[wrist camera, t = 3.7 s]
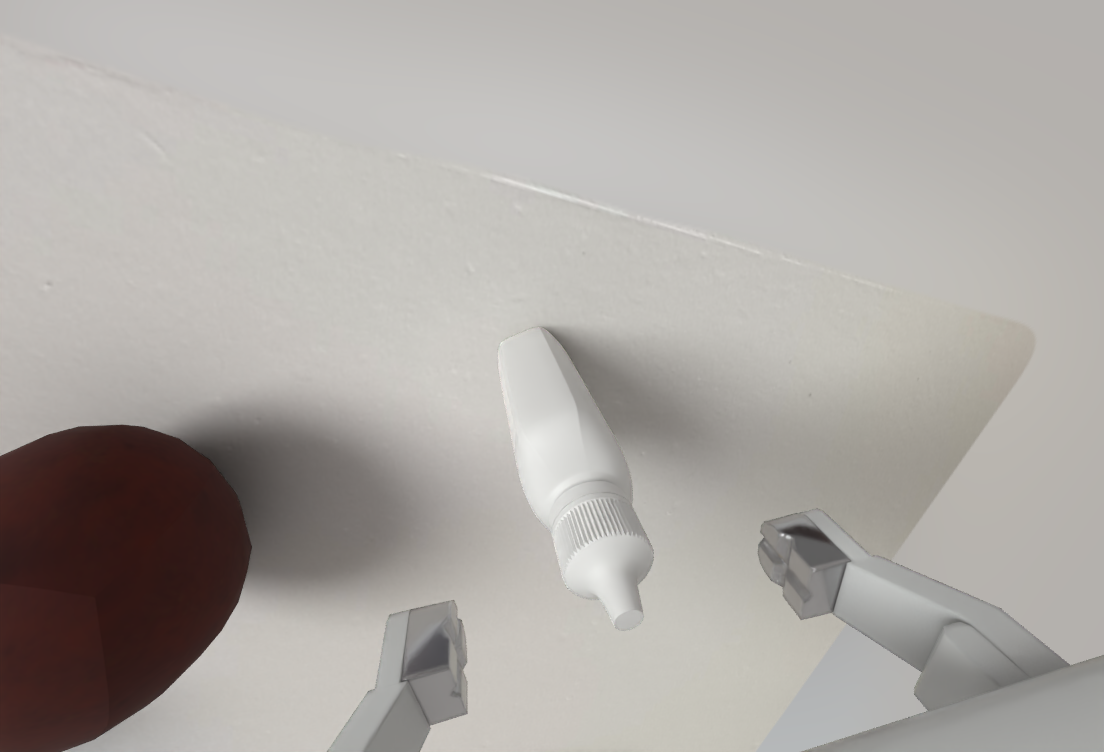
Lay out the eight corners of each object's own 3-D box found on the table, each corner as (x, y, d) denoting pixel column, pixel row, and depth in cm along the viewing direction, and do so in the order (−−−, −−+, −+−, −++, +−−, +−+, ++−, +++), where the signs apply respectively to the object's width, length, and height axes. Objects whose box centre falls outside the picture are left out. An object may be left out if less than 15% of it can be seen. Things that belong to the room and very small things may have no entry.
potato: (54, 576, 20) (-233, 867, 12) (38, 346, 15) (-432, 548, 7) (265, 592, 22) (155, 836, 14) (301, 401, 18) (174, 592, 10)
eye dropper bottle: (488, 429, 21) (517, 705, 10) (499, 320, 18) (553, 530, 8) (573, 431, 22) (681, 683, 11) (595, 328, 19) (756, 523, 9)
